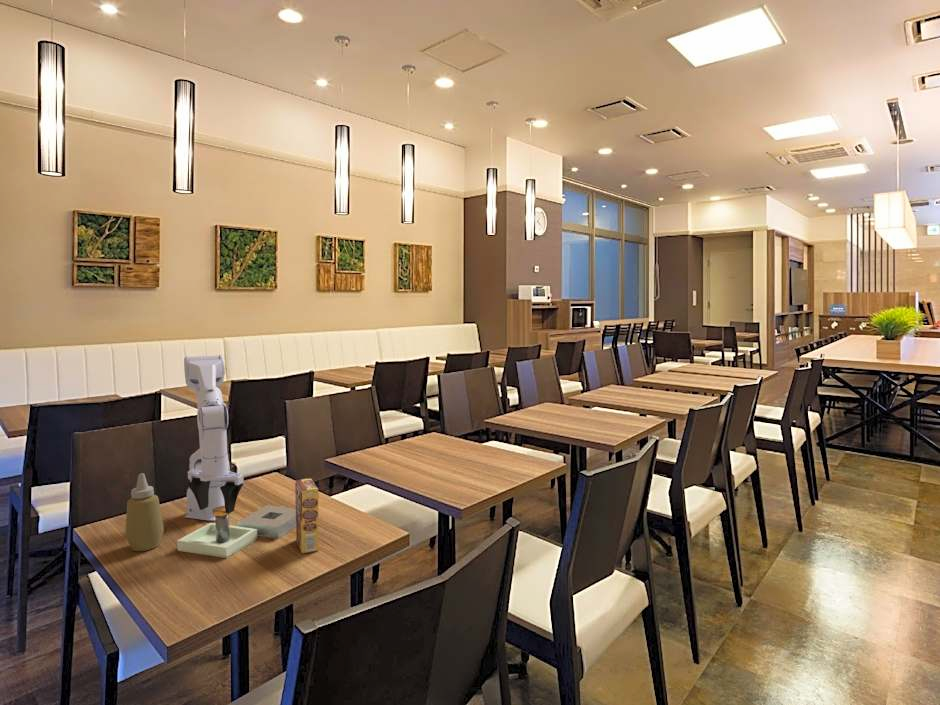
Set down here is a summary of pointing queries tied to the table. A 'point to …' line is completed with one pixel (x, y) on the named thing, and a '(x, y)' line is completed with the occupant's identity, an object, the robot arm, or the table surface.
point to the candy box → (307, 515)
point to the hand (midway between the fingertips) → (216, 510)
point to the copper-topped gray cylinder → (221, 524)
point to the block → (271, 521)
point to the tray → (207, 545)
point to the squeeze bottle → (143, 517)
